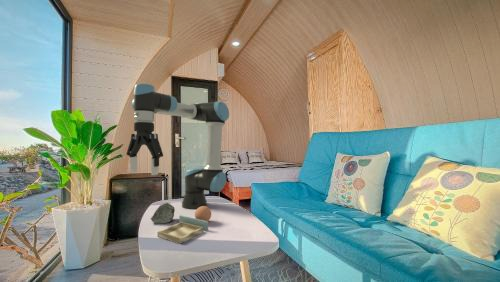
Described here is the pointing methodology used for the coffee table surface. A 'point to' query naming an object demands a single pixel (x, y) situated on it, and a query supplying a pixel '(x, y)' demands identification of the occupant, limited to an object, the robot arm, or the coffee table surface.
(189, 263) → the coffee table surface
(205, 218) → the ball
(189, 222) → the wall
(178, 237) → the tray
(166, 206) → the stone
